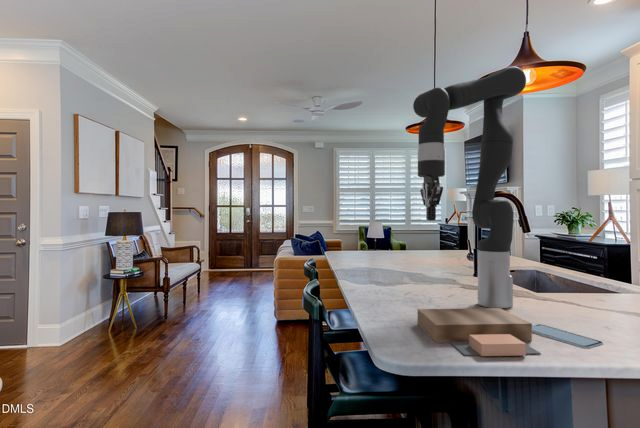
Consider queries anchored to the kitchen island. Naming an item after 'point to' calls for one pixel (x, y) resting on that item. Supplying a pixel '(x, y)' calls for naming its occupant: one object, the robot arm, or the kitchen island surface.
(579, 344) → the smartphone
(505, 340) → the terracotta tile
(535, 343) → the kitchen island surface
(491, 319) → the block
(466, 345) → the rubber mat
